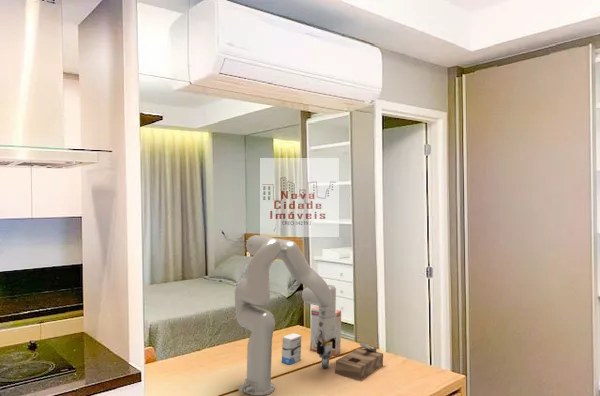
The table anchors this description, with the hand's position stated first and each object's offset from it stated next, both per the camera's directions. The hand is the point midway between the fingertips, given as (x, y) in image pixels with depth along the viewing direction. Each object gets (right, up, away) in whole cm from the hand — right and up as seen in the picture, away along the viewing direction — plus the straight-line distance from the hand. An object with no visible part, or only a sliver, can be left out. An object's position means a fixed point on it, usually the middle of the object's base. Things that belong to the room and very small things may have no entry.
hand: (326, 351), depth 205 cm
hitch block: (+15, -8, -1) cm, 17 cm away
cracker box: (+1, -7, +20) cm, 21 cm away
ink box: (-16, -7, +6) cm, 18 cm away
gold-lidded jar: (0, -7, 0) cm, 7 cm away
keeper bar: (+19, 0, +3) cm, 19 cm away
